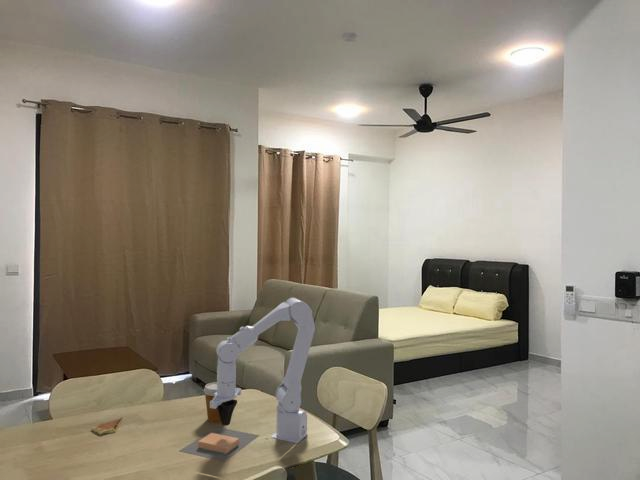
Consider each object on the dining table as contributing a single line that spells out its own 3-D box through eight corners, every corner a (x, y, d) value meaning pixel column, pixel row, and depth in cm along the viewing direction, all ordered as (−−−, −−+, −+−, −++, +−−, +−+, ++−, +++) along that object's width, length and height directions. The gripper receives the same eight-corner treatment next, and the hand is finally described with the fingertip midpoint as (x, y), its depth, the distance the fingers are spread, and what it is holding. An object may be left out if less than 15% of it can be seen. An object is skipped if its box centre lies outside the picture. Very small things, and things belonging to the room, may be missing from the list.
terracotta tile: (239, 438, 152) (226, 447, 145) (239, 445, 152) (226, 454, 145) (211, 432, 156) (198, 441, 149) (211, 439, 156) (197, 448, 149)
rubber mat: (259, 436, 160) (259, 435, 159) (224, 462, 141) (224, 461, 141) (217, 428, 166) (217, 427, 166) (178, 452, 147) (178, 450, 147)
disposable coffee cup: (228, 425, 168) (228, 390, 168) (199, 425, 168) (200, 389, 168) (233, 415, 177) (234, 382, 177) (206, 414, 177) (207, 381, 177)
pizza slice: (122, 421, 171) (122, 416, 171) (134, 427, 166) (134, 422, 166) (91, 431, 162) (91, 425, 162) (102, 437, 157) (103, 431, 157)
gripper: (228, 373, 162) (227, 414, 162) (201, 385, 148) (200, 430, 149) (247, 375, 159) (246, 418, 159) (221, 388, 146) (220, 434, 146)
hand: (225, 424), depth 154 cm, fingers closed
